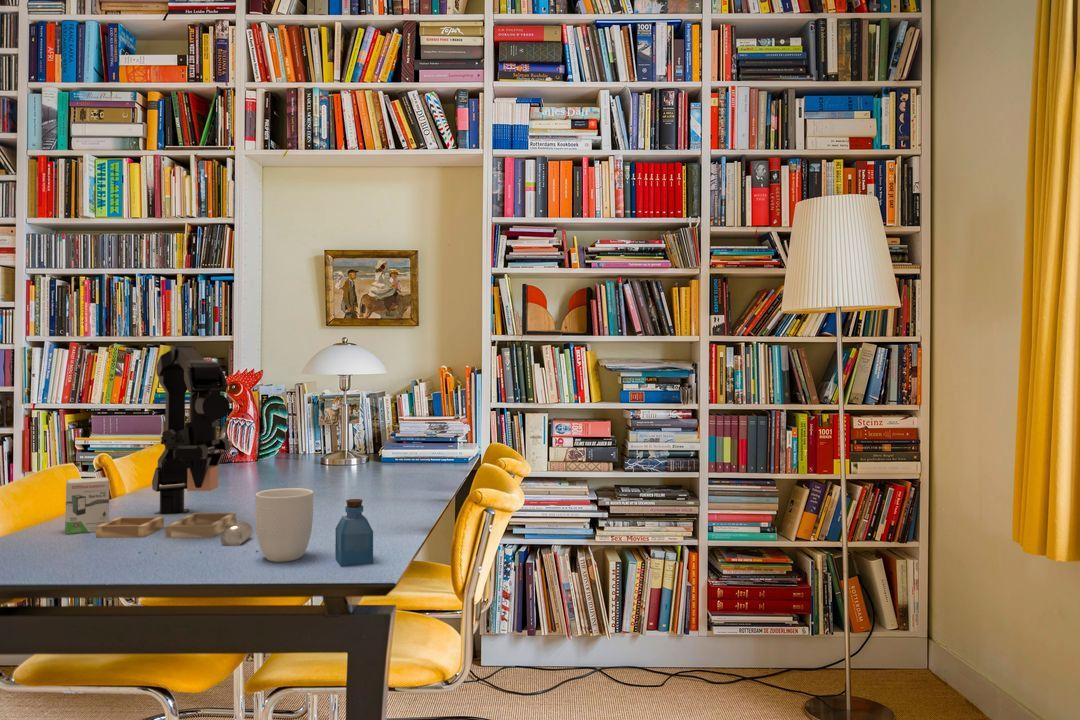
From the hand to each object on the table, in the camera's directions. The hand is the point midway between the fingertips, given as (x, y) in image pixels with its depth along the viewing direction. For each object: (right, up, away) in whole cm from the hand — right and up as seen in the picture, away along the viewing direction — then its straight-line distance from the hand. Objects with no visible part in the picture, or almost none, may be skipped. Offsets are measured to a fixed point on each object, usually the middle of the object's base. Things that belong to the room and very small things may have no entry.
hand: (202, 485), depth 179 cm
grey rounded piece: (+10, -8, -11) cm, 17 cm away
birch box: (0, -11, 0) cm, 11 cm away
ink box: (-27, -11, +2) cm, 29 cm away
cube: (0, -1, 0) cm, 1 cm away
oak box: (-15, -11, -3) cm, 19 cm away
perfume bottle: (+40, -11, -25) cm, 49 cm away
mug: (+25, -11, -22) cm, 35 cm away
